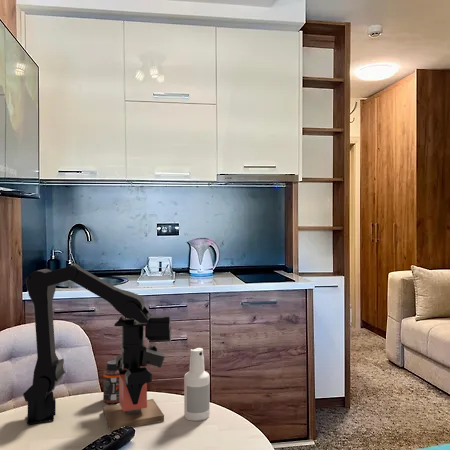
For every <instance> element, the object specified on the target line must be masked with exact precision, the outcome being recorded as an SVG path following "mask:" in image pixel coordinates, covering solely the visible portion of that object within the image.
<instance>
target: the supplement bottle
mask: <svg viewBox="0 0 450 450" xmlns="http://www.w3.org/2000/svg"><path fill="white" fill-rule="evenodd" d="M118 368H121V364H120V367H117V366H116V359H114V360H108V361H107V362H106V369H104V370H103V381H102V383H103V389H102V391H103V392H102V393H103V395H102V396H103V397H102V398H103V402H104V403H107V404H119V375H120V373H119V371H118Z"/></svg>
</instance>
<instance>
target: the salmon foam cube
mask: <svg viewBox="0 0 450 450" xmlns="http://www.w3.org/2000/svg"><path fill="white" fill-rule="evenodd" d="M124 380H125V374H124V375H119V402H118V404H120V405H121V408H122V410H123V412H124V411H130V410H136V409H142V408H147V400H148V383H145V384H144V385H143V386H142V389H141V393H140V396H139V400H138V404H135V405H134V404H133V402H132V400H131V397H130V395H129V392H128V389H127V387H126V384H125V381H124Z"/></svg>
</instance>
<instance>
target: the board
mask: <svg viewBox="0 0 450 450" xmlns="http://www.w3.org/2000/svg"><path fill="white" fill-rule="evenodd" d="M102 413H103V415H104V419H105V421H106V424H107V426H108V430H109V431H116V430H119V429H118V428H121V427H124V426H130V427H129V428H133V427H138V426H142V425H149V424H154V423H155V424H156V423H161V422H165V414H164V413H163V412H162V410H161V408H160V407H159V406H158V404H157V402H156V401H155V399H154V398H151V399H147V408H142V409H141V412H140V413H134V414H128V415H127V412H126V411H124V412H123V410H122V408H121V405H120V403H117V404H112V405H106V406H103V412H102Z"/></svg>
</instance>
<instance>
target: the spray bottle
mask: <svg viewBox="0 0 450 450" xmlns="http://www.w3.org/2000/svg"><path fill="white" fill-rule="evenodd" d="M183 378H184V379H183V380H184V384H183V388H184V389H183V391H184V396H183V400H184V403H183V406H184V407H183V408H184V409H183V413H184V414H183V415H184V418H185V419H187V420H188V421H194V422H200V421H204V420H206V419H208V418H209V417H210V414H211V413H210V407H211V406H210V405H211V404H210V403H211V402H210V401H211V400H210V397H211V396H210V394H211V392H210V390H211V389H210V388H211V387H210V380H211V379H210V374H209V372H208V371H205V356H204V348H202V347H196V348H194V349H192V348H191V349H190V357H189V370H188V371H187V372H186V373H185V374H184V377H183Z"/></svg>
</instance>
